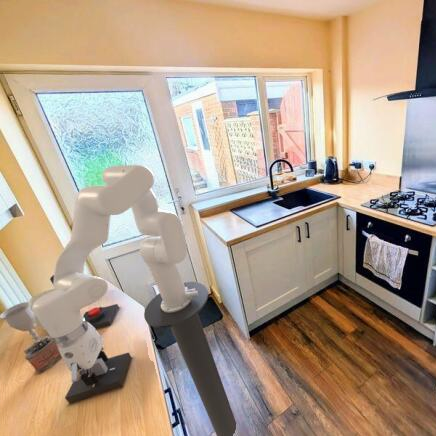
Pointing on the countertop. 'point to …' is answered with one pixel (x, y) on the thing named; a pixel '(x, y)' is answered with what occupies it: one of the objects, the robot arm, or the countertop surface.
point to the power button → (94, 312)
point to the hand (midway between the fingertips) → (98, 371)
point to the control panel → (102, 380)
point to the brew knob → (99, 367)
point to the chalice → (21, 318)
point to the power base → (102, 316)
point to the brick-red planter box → (42, 354)
